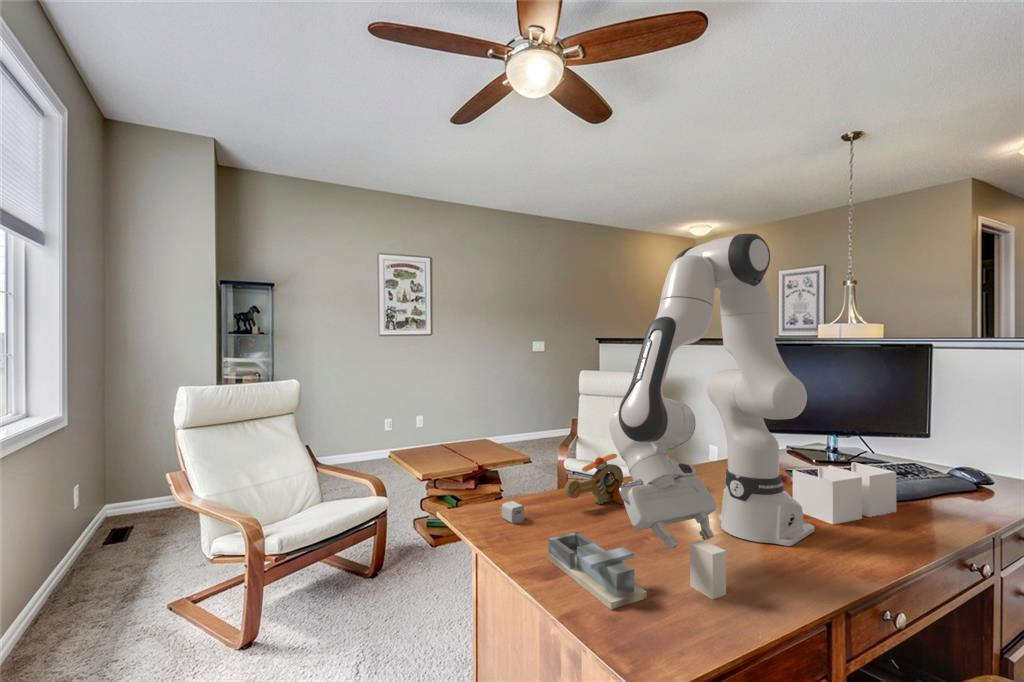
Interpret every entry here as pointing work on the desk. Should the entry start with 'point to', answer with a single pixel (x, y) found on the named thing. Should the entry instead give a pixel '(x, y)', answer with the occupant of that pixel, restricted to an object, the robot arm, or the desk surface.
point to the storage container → (845, 492)
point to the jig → (596, 569)
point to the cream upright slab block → (708, 569)
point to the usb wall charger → (512, 512)
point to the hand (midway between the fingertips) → (691, 542)
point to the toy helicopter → (599, 482)
